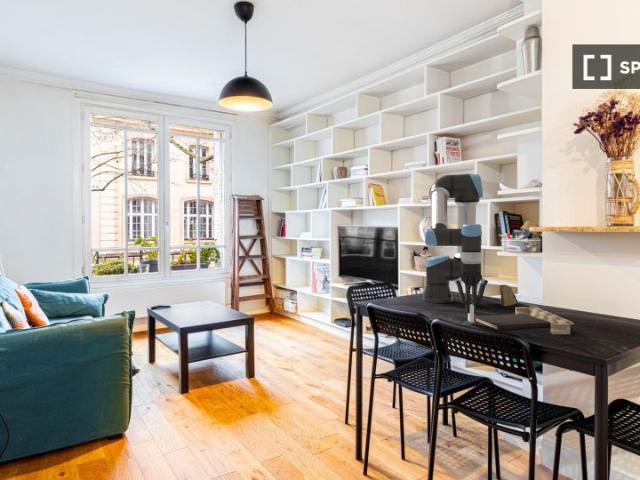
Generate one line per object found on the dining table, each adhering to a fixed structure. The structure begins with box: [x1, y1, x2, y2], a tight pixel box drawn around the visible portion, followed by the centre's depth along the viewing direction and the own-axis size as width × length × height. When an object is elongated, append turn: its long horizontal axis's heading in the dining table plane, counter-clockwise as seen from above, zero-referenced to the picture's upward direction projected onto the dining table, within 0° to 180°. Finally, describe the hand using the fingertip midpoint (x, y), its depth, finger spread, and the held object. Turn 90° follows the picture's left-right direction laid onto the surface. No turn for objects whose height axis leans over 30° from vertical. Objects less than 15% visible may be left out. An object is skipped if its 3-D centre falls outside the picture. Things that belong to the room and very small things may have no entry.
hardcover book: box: [474, 313, 551, 331], centre depth 172 cm, size 16×23×2 cm
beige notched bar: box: [514, 304, 574, 335], centre depth 171 cm, size 31×8×4 cm, turn 178°
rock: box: [499, 284, 519, 307], centre depth 210 cm, size 11×9×10 cm
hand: (470, 321), depth 171 cm, fingers closed
